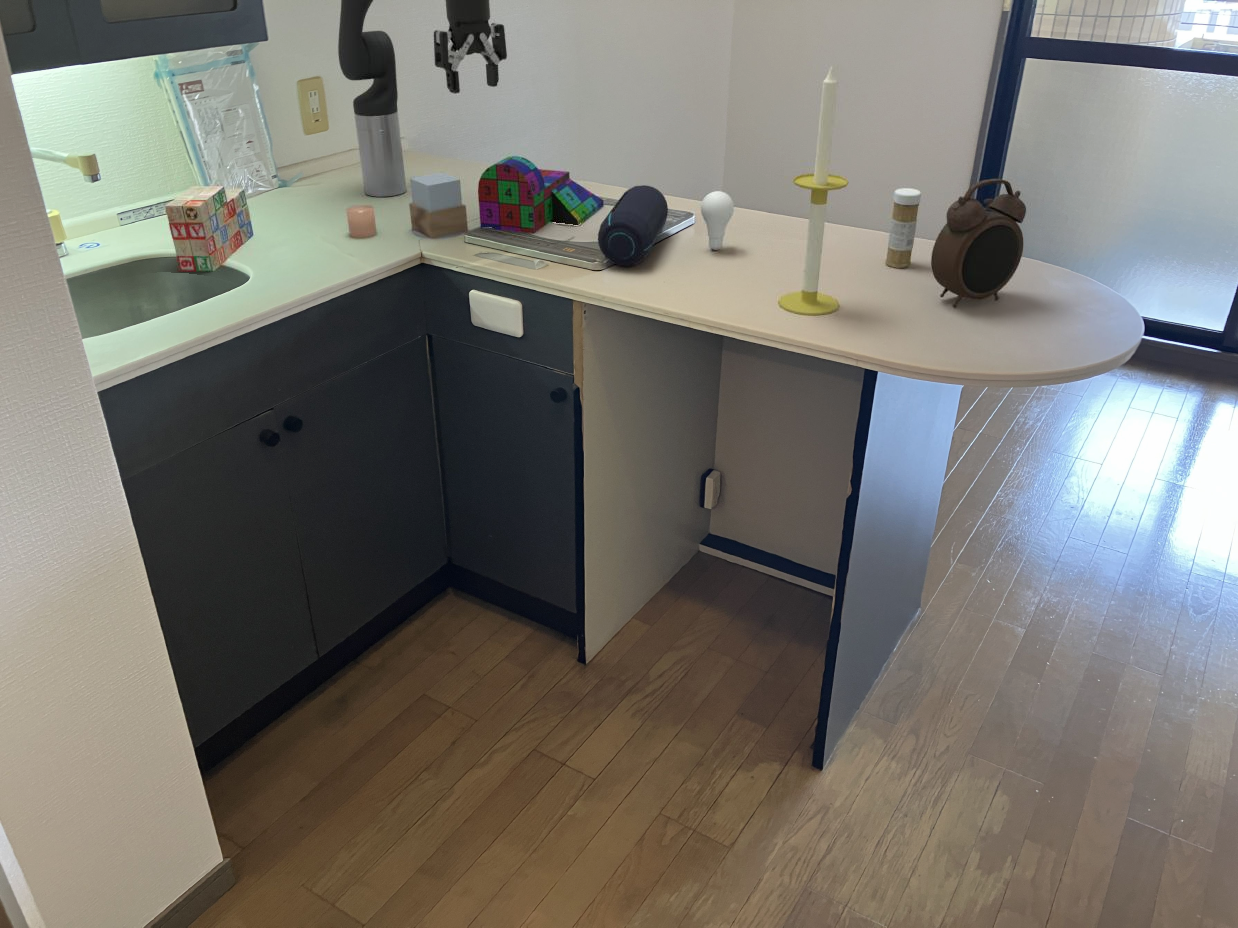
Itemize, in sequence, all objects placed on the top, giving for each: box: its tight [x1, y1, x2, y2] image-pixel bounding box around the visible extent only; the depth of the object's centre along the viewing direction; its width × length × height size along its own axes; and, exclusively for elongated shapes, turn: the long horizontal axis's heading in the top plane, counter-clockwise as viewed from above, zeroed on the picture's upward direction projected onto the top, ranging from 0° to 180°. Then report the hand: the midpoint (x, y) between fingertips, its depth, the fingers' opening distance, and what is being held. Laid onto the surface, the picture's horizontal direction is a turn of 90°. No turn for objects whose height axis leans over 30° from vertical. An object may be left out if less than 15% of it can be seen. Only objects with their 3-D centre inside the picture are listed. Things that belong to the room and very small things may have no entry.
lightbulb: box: [700, 190, 735, 251], centre depth 188 cm, size 6×6×11 cm
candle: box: [777, 65, 849, 316], centre depth 157 cm, size 10×10×38 cm
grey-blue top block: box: [409, 171, 463, 212], centre depth 195 cm, size 7×7×5 cm
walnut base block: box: [408, 203, 469, 240], centre depth 197 cm, size 8×8×5 cm
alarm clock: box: [930, 178, 1027, 309], centre depth 162 cm, size 15×7×20 cm, turn 114°
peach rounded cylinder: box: [345, 204, 378, 239], centre depth 195 cm, size 5×5×6 cm
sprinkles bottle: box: [885, 187, 922, 269], centre depth 180 cm, size 5×5×13 cm
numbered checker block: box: [477, 155, 605, 234], centre depth 205 cm, size 25×17×14 cm
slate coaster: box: [411, 228, 467, 240], centre depth 199 cm, size 11×11×1 cm
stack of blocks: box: [164, 185, 254, 272], centre depth 187 cm, size 21×6×12 cm, turn 178°
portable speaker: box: [597, 184, 669, 267], centre depth 189 cm, size 25×10×10 cm, turn 168°
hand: (473, 89), depth 182 cm, fingers open, 8 cm apart
